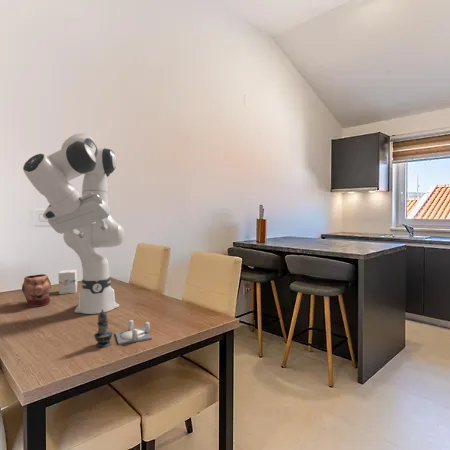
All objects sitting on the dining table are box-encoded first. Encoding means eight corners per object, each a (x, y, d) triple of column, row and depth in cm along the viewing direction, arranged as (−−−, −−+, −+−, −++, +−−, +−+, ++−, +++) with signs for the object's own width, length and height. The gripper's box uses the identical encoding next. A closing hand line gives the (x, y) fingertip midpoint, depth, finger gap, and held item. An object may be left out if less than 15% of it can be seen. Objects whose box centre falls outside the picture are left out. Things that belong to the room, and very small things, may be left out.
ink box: (61, 290, 189) (60, 270, 188) (77, 289, 192) (77, 269, 191) (58, 294, 181) (57, 272, 180) (76, 293, 183) (75, 271, 183)
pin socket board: (115, 333, 123) (114, 322, 123) (146, 328, 128) (146, 317, 128) (118, 345, 112) (118, 333, 112) (153, 339, 117) (152, 327, 117)
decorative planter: (18, 302, 167) (16, 274, 167) (45, 297, 176) (44, 270, 175) (28, 310, 153) (26, 280, 152) (57, 305, 161) (56, 276, 160)
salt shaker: (115, 340, 116) (113, 306, 116) (109, 347, 110) (108, 311, 110) (97, 341, 116) (96, 306, 116) (91, 348, 110) (90, 312, 110)
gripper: (98, 186, 107) (122, 218, 116) (46, 206, 112) (73, 235, 120) (92, 197, 103) (117, 229, 111) (38, 217, 107) (66, 247, 115)
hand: (94, 232), depth 116 cm, fingers open, 8 cm apart
